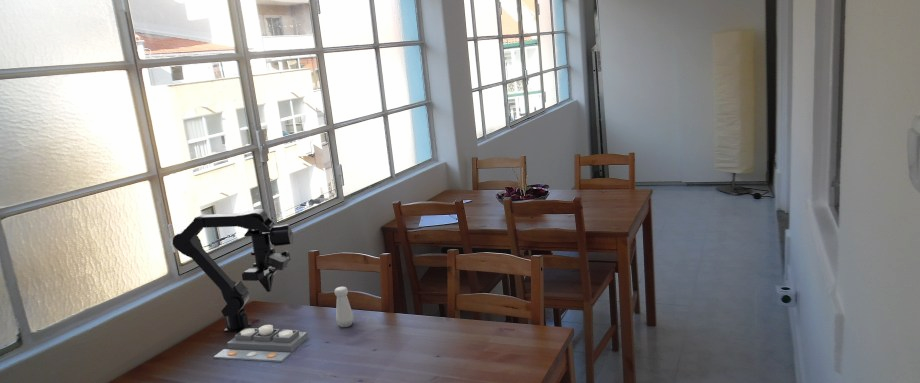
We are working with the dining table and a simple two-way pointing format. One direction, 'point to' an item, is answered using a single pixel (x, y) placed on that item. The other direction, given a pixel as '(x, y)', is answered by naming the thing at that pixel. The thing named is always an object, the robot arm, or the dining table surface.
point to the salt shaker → (343, 308)
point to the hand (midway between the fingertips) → (269, 291)
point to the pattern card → (252, 355)
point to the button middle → (266, 330)
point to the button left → (247, 332)
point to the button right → (286, 333)
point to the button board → (268, 341)
